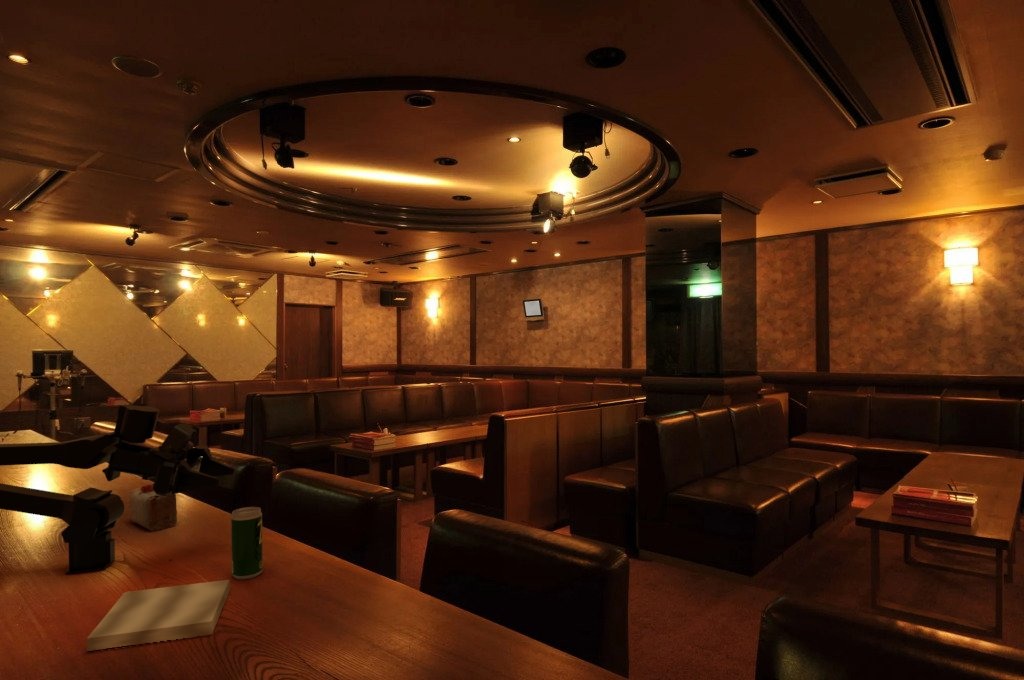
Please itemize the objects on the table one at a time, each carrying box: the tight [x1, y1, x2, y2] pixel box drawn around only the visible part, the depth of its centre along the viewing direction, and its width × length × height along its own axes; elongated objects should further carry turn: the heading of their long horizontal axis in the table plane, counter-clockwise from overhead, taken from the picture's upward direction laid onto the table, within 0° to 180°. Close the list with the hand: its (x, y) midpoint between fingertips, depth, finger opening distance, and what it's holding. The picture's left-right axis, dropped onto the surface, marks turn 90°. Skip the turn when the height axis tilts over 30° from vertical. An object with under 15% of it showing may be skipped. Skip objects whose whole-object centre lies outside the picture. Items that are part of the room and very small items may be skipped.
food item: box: [128, 483, 178, 532], centre depth 143 cm, size 14×8×10 cm, turn 51°
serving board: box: [86, 579, 231, 652], centre depth 94 cm, size 16×16×2 cm
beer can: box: [230, 506, 264, 581], centre depth 111 cm, size 5×5×12 cm
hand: (227, 476), depth 120 cm, fingers open, 9 cm apart
